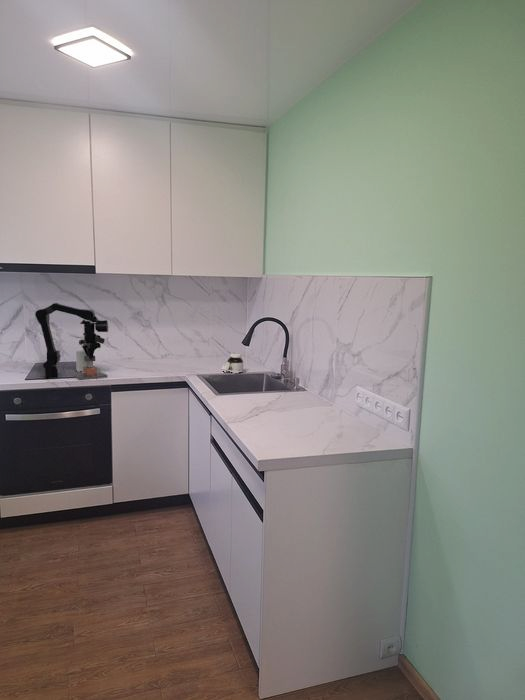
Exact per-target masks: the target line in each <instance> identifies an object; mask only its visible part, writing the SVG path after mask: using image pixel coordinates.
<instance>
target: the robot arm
mask: <svg viewBox="0 0 525 700" xmlns="http://www.w3.org/2000/svg"><path fill="white" fill-rule="evenodd" d="M56 311H58V312H60V313H65V314H69V315H73V316H77V317H79V318H81V319H83V320H82V321H81V322H80V323H79V324H80V325H83V333H82V336H83V338H84V339H80V340H78V345H80V346H81V348H82V350H84V351H85V353H86V356H89V357H90V359H92V358H93V355H94V354H95V350H97V349H101V347H102V346H101V344H102V345H103V344H105V341H106V339H105V338H103V337H101V335H99V334H97V333H95V332H98V333H109V323H108V320H107V319H106V320H99V319H98V318H97V316H96V314H95V311H94V310H93V309H86V308H76V307H73V306H69V305H64V304H61V303H58V302H55V303H52V304H51V305H48V306H46V307H45V308H41V309H38V310H36V311H35V318H36V320H37V321H38V324H39V325H40V327H41V330H42V335H43V336H42V337H43V340H44V343H45V347H46V361H45V362H44V363H43V364H42V366H43V375H42V377H43V378H45V379H53V378H55V377H56V378H59V376H58V375H59V373H58V370H59V369H58V367H57V365H58V363H59V362H60V361H61V358H62V355H61V353H60V352H61V351H60V350H59V349H56V347H55V342H54V337H53V334H52V330H51V327H50V315H51V314H53V313H54V312H56Z"/></svg>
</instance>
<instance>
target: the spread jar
mask: <svg viewBox="0 0 525 700" xmlns="http://www.w3.org/2000/svg"><path fill="white" fill-rule="evenodd" d="M229 356H230V357H229V358H228V359H227V362H224V363H223V364H222V367H221V370H222V369H225V371H227V372H229V371H228V370H231V371H241V370H243V371H244V360H243V358H242V355H241V354H240V353H231V354H229Z"/></svg>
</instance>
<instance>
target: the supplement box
mask: <svg viewBox="0 0 525 700" xmlns="http://www.w3.org/2000/svg"><path fill="white" fill-rule="evenodd" d="M84 356H86V353H85V351H84V350H83V349H81V350H77V351H76V352H75V357H76V359H75V360H76V361H75V362H76V363H75V364H76V369H75V370H77V371H76V372H80V371H82V372H81V373H83V367H86V366H87V362H86V361H85V358H84Z"/></svg>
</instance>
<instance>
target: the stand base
mask: <svg viewBox="0 0 525 700" xmlns="http://www.w3.org/2000/svg"><path fill="white" fill-rule="evenodd" d="M74 377H75V378H74ZM72 378H74V379H76V378H77V381H86V380H87V381H88V380H95V379H104V378H105V379H106V378H108V374H106V373H104V372H102V371H98V367H97V366H95V365H93V367H91V368H88V367H87V366H86V367H83V372H81V373H73V374H72Z"/></svg>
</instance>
